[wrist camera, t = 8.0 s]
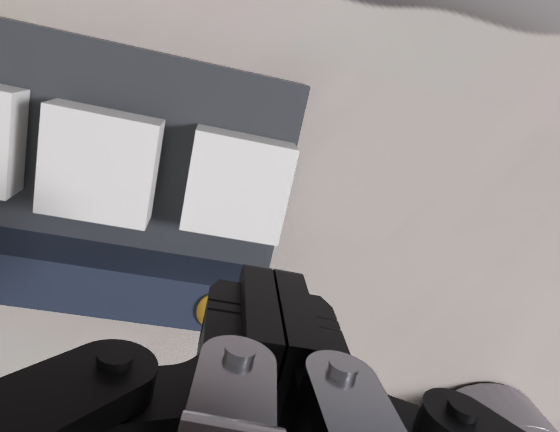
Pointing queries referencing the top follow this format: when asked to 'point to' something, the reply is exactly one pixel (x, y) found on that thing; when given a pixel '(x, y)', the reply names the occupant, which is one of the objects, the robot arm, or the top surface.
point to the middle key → (96, 164)
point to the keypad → (169, 186)
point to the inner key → (238, 185)
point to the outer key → (13, 138)
